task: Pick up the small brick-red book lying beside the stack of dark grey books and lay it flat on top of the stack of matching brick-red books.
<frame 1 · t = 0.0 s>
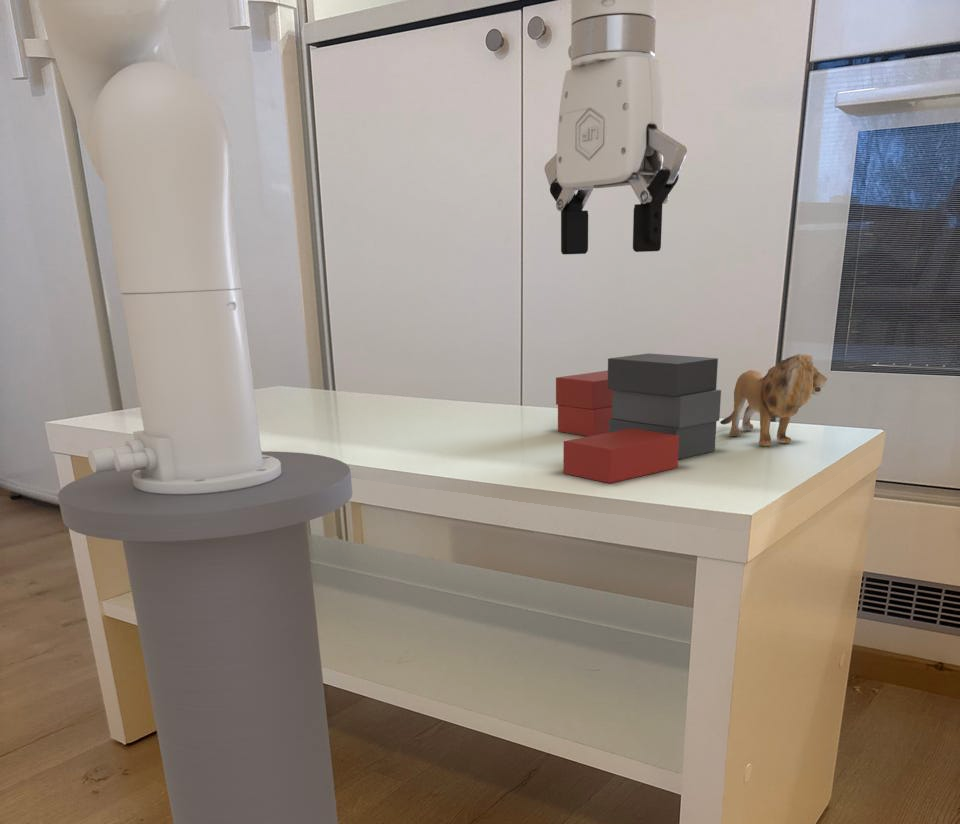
hand: (609, 252, 92), 19 cm above the table, tool pointing down, fingers open, 9 cm apart
red book: (620, 470, 88), on the table
grey books: (660, 449, 96), on the table
red books: (604, 429, 109), on the table
lion figurine: (765, 440, 100), on the table
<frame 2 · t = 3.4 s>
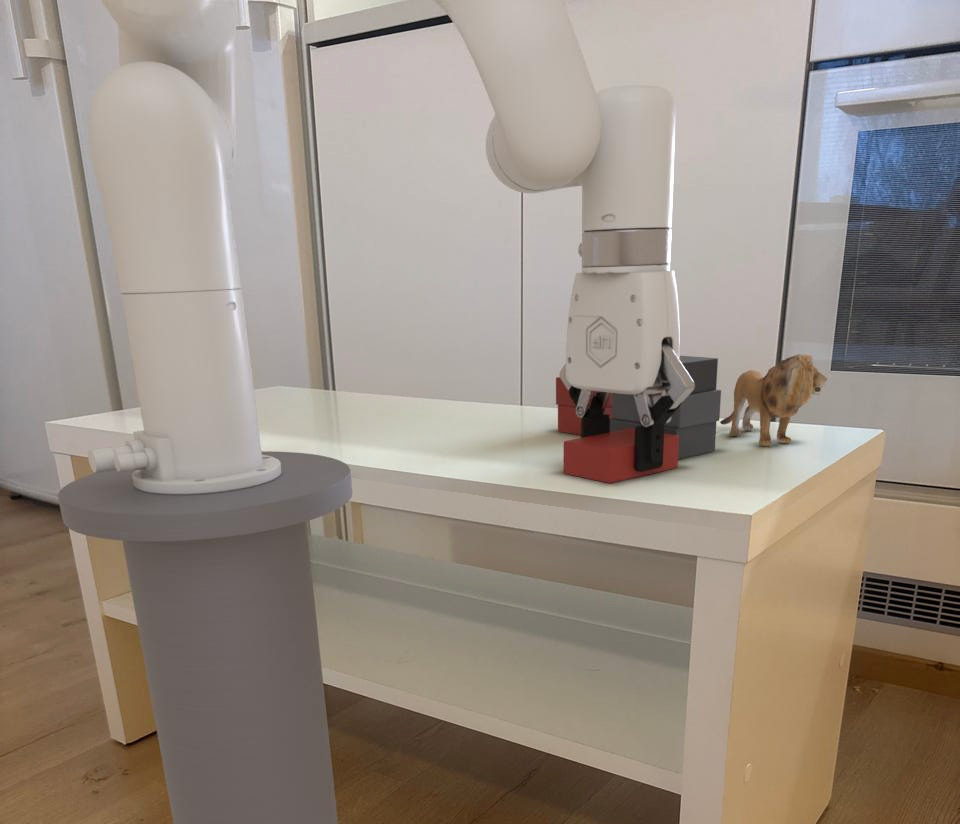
hand: (621, 462, 87), 1 cm above the table, tool pointing down, fingers closed on red book, 6 cm apart
red book: (620, 470, 88), on the table, touching gripper
everything else where it was.
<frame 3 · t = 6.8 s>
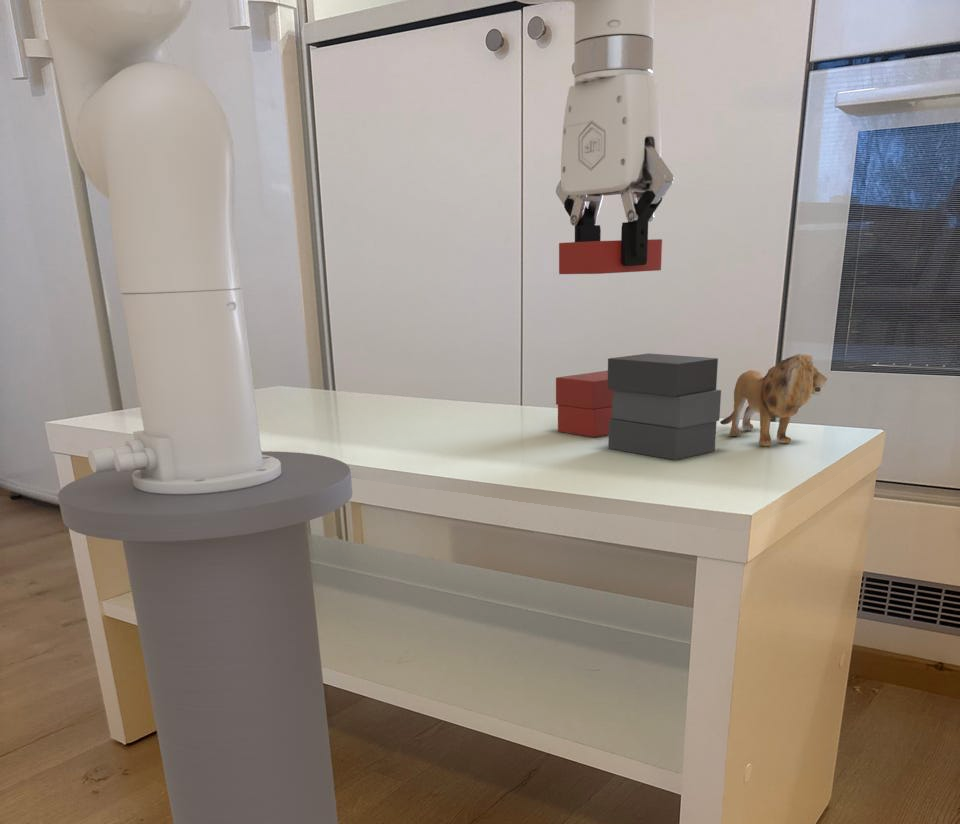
hand: (610, 264, 98), 18 cm above the table, tool pointing down, fingers closed on red book, 6 cm apart
red book: (610, 272, 98), point 17 cm above the table, touching gripper
everything else where it was.
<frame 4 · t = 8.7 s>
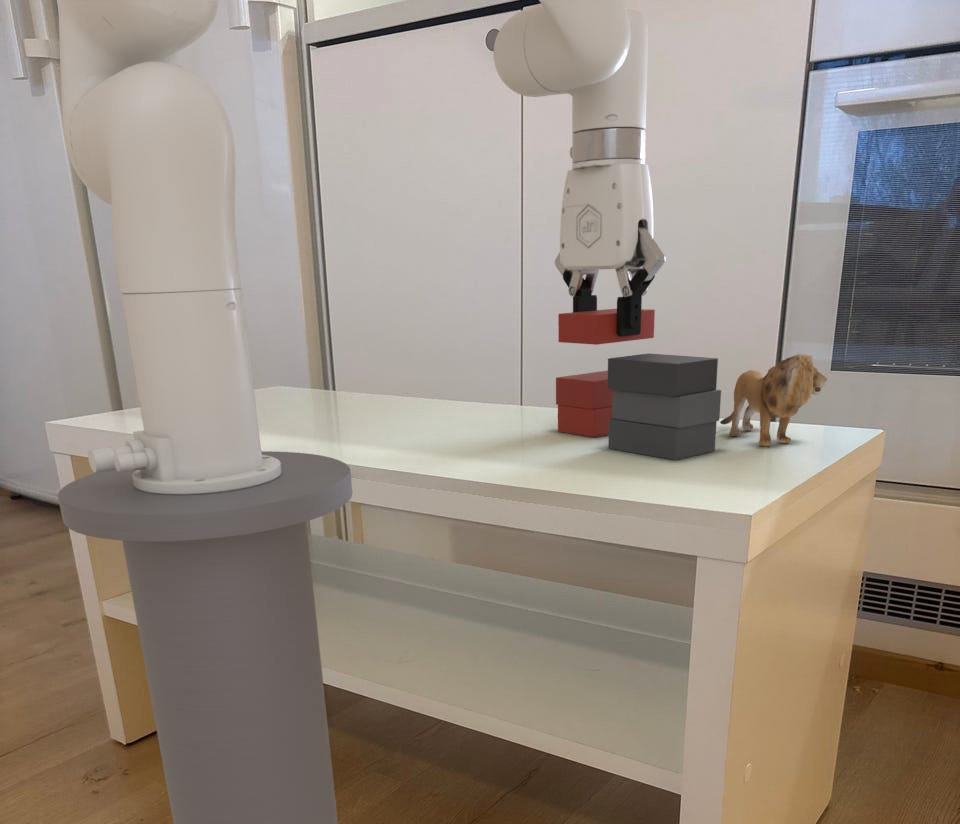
hand: (606, 332, 105), 11 cm above the table, tool pointing down, fingers closed on red book, 6 cm apart
red book: (606, 340, 105), point 10 cm above the table, touching gripper
everything else where it was.
when the fingers open (7 cm above the table, at t = 10.2 s): red book stays where it is, resting on red books.
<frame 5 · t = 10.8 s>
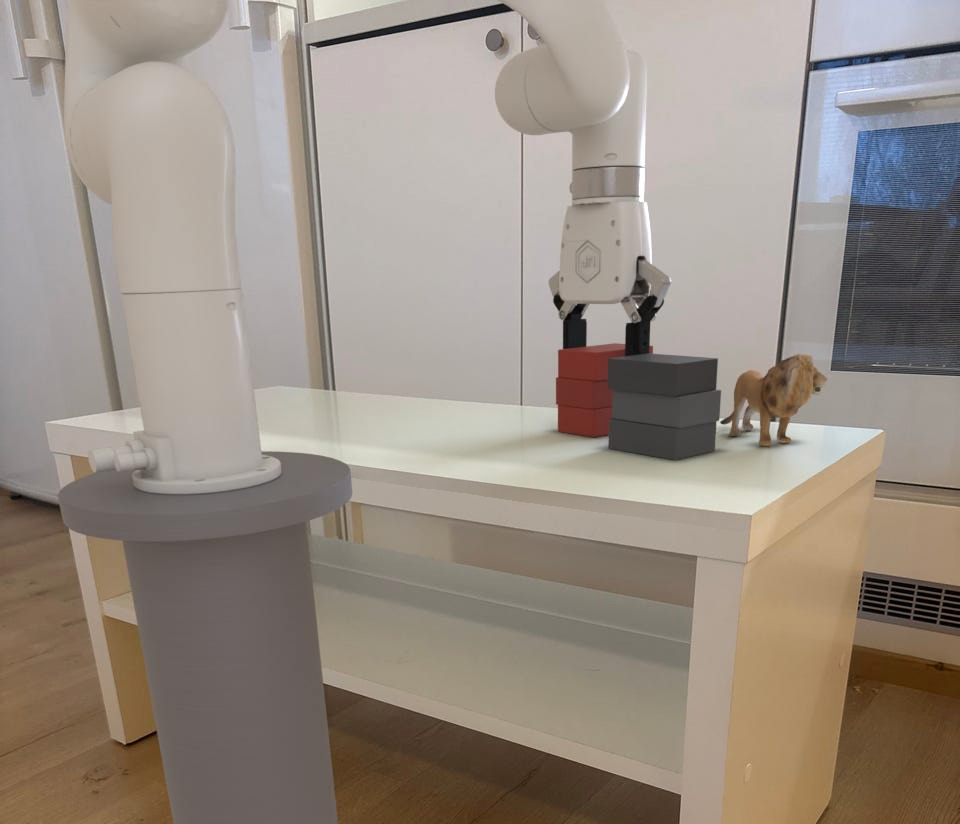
hand: (604, 358, 106), 8 cm above the table, tool pointing down, fingers open, 9 cm apart
red book: (605, 375, 106), point 6 cm above the table, touching red books
everything else where it was.
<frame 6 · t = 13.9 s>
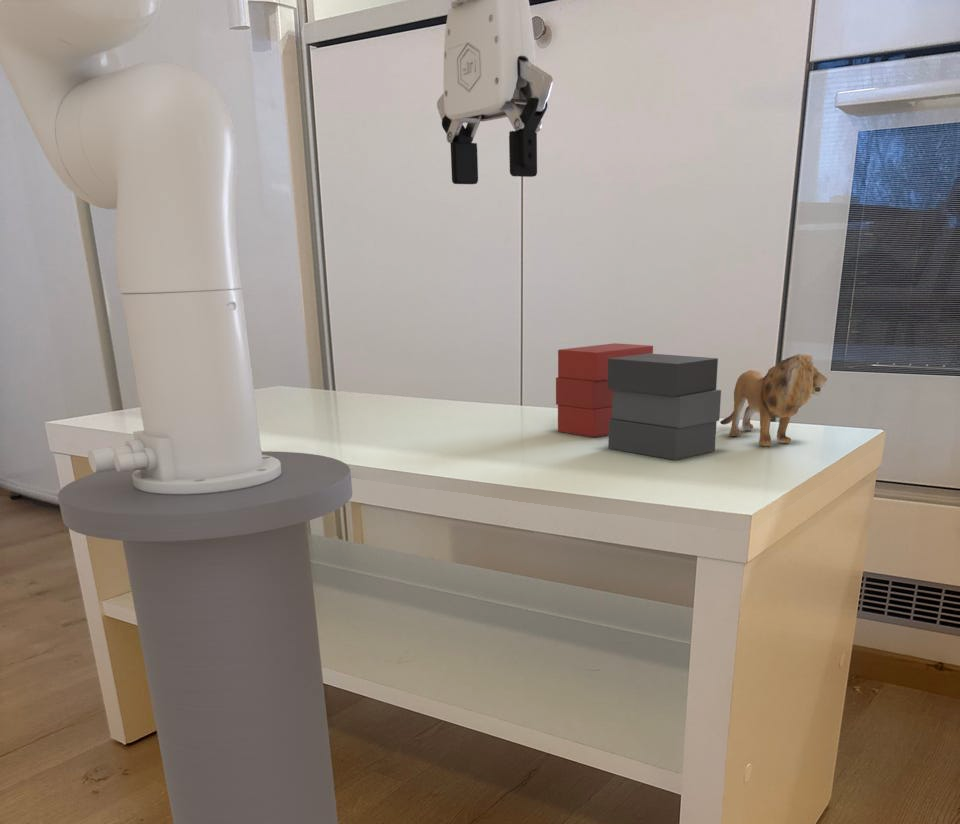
hand: (493, 180, 100), 26 cm above the table, tool pointing down, fingers open, 9 cm apart
nothing on the table moved.
at the end: red book 0.1 cm off-centre on the red books, point 6.0 cm above the red books's base; red book tilted 0°; the gripper is holding nothing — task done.
